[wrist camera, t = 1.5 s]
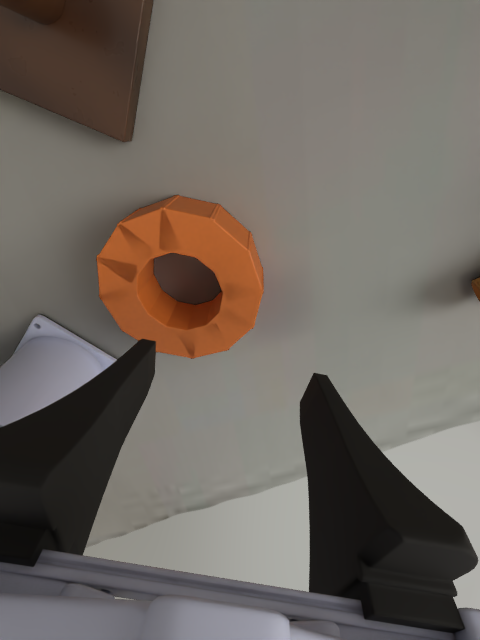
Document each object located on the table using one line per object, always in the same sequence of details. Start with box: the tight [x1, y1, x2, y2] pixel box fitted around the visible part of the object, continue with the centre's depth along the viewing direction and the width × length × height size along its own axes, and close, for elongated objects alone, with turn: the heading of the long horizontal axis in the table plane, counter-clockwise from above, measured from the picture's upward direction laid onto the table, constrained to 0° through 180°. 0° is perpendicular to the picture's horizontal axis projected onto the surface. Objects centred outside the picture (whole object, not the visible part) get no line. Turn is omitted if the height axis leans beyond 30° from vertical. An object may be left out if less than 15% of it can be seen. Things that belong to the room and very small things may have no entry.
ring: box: [96, 195, 264, 359], centre depth 20 cm, size 10×10×3 cm
